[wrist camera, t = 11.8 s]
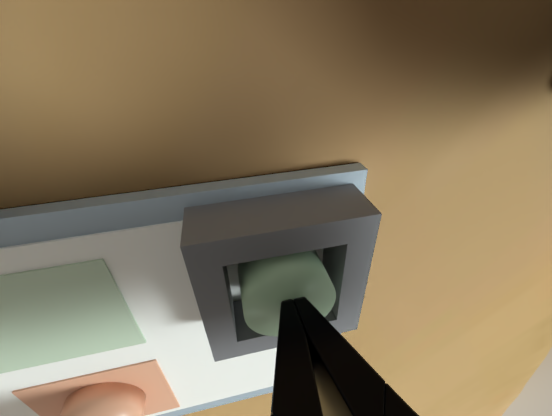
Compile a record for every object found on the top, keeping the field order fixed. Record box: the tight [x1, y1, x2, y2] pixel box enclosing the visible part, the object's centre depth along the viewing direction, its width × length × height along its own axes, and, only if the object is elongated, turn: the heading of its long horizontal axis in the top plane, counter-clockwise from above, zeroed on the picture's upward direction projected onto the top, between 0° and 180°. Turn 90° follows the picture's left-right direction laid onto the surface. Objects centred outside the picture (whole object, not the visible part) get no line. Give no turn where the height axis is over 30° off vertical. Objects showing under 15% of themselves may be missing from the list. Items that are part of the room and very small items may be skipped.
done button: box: [238, 250, 336, 336], centre depth 10 cm, size 3×3×2 cm
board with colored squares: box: [0, 163, 382, 416], centre depth 12 cm, size 18×15×3 cm
